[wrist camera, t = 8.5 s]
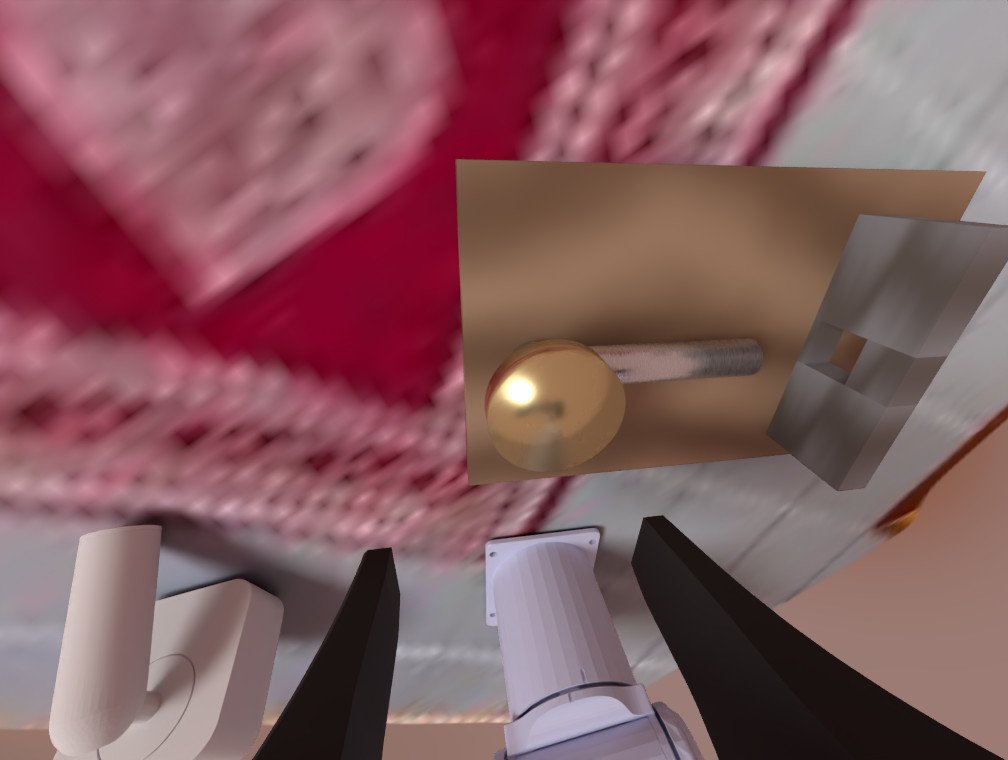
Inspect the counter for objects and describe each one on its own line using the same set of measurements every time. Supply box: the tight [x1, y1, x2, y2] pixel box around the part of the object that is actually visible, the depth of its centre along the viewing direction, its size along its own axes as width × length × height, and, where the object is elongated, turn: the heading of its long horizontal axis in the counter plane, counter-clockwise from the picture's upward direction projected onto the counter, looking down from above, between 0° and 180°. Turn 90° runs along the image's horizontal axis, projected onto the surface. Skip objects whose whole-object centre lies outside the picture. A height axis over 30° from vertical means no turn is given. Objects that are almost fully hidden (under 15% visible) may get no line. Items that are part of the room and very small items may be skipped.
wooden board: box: [455, 159, 1008, 491], centre depth 18 cm, size 16×24×6 cm, turn 89°
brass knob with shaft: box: [484, 339, 763, 472], centre depth 16 cm, size 5×13×5 cm, turn 89°
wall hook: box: [49, 525, 284, 760], centre depth 19 cm, size 8×10×10 cm
